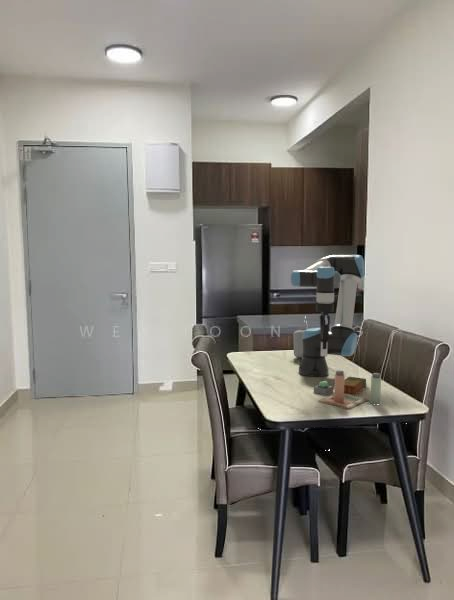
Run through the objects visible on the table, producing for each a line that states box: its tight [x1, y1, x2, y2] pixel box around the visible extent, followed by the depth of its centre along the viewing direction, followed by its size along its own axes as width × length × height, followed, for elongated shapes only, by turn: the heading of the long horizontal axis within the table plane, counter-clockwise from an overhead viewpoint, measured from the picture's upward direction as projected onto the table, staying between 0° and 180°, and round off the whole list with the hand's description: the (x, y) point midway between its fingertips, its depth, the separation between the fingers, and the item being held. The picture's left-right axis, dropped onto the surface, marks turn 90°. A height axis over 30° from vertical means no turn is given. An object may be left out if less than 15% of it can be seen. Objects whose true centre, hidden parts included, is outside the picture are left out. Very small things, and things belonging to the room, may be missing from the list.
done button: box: [319, 380, 328, 388], centre depth 203 cm, size 3×3×2 cm
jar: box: [292, 315, 314, 359], centre depth 270 cm, size 19×15×25 cm
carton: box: [344, 376, 367, 396], centre depth 207 cm, size 8×16×4 cm, turn 147°
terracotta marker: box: [333, 369, 346, 403], centre depth 187 cm, size 4×4×12 cm
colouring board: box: [318, 393, 370, 410], centre depth 190 cm, size 16×14×1 cm
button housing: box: [313, 384, 334, 396], centre depth 203 cm, size 6×6×2 cm
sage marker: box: [369, 372, 382, 406], centre depth 187 cm, size 4×4×12 cm
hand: (323, 355), depth 202 cm, fingers closed
